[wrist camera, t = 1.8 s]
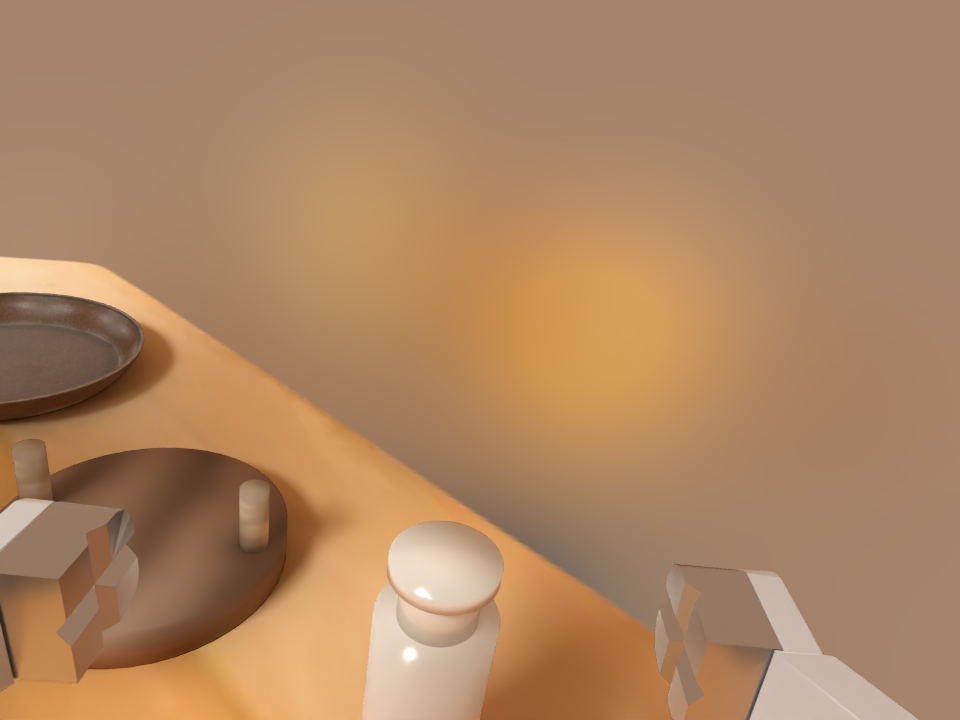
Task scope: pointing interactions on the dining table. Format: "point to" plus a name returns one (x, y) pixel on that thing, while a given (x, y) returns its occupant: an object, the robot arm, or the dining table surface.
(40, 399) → the plant saucer
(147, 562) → the pedestal
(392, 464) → the dining table surface
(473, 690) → the bud vase
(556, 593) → the dining table surface
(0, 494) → the dining table surface
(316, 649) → the dining table surface
